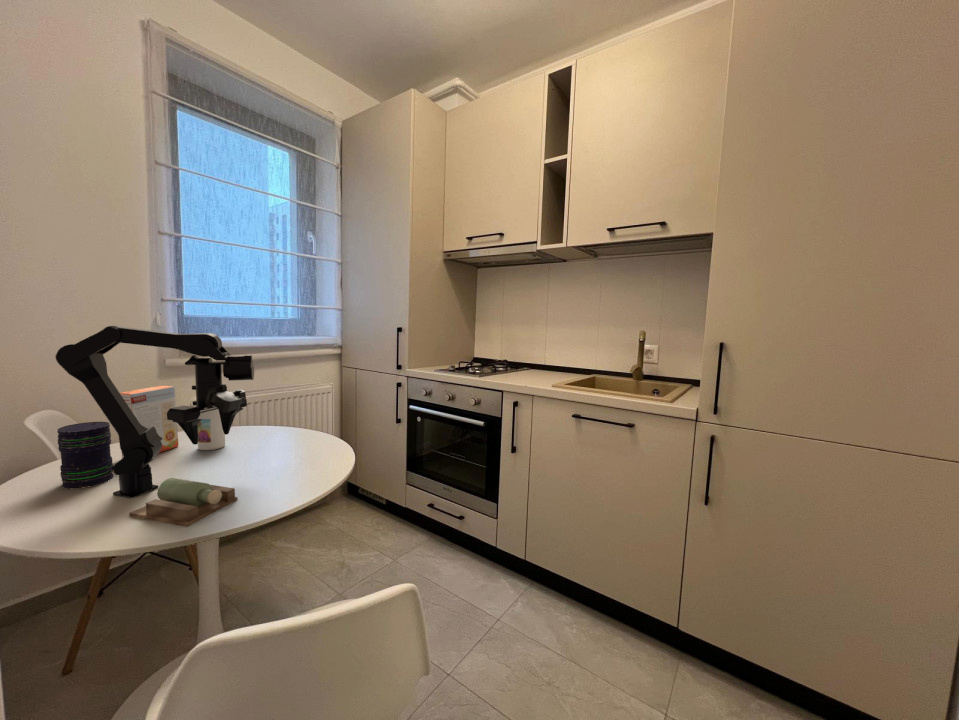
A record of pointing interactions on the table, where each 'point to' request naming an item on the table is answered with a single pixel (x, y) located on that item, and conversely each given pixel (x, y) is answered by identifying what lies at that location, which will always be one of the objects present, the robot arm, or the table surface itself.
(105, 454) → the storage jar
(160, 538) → the table surface
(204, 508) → the walnut U-rest
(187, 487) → the olive bottle
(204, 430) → the milk bottle
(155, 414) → the cracker box
